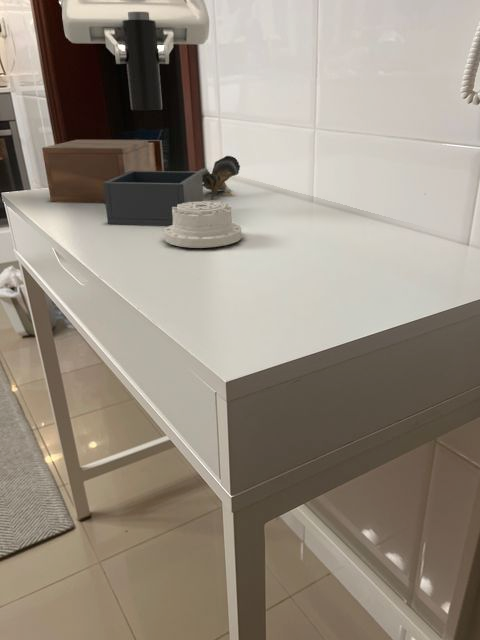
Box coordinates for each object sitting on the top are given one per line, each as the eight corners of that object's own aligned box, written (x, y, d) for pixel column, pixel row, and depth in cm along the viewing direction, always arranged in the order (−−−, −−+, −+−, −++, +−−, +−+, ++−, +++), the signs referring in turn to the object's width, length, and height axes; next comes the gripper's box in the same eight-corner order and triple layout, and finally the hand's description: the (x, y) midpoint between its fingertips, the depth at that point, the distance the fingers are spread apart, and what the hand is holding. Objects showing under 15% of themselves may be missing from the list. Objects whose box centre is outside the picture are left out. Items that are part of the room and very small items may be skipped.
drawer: (113, 171, 121) (109, 137, 118) (170, 172, 119) (167, 138, 116) (81, 184, 106) (75, 146, 103) (145, 185, 104) (141, 146, 101)
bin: (107, 224, 81) (102, 182, 78) (134, 207, 91) (130, 170, 89) (185, 226, 79) (183, 184, 77) (203, 209, 90) (202, 171, 87)
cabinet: (83, 187, 108) (77, 139, 104) (152, 188, 107) (148, 140, 103) (50, 201, 96) (41, 147, 92) (127, 203, 94) (121, 148, 91)
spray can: (126, 110, 79) (116, 11, 73) (137, 108, 82) (128, 14, 77) (157, 110, 78) (149, 10, 73) (166, 108, 82) (158, 13, 77)
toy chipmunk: (244, 193, 96) (249, 175, 103) (219, 157, 93) (227, 141, 100) (209, 215, 99) (217, 196, 106) (184, 182, 96) (194, 164, 103)
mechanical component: (199, 255, 66) (257, 239, 73) (197, 218, 64) (257, 204, 71) (149, 240, 72) (206, 227, 79) (145, 206, 70) (204, 195, 77)
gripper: (53, -38, 76) (60, 40, 72) (202, -32, 81) (217, 41, 76) (60, 4, 82) (67, 78, 78) (199, 7, 86) (212, 77, 82)
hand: (143, 60), depth 77 cm, fingers closed on spray can, 4 cm apart
